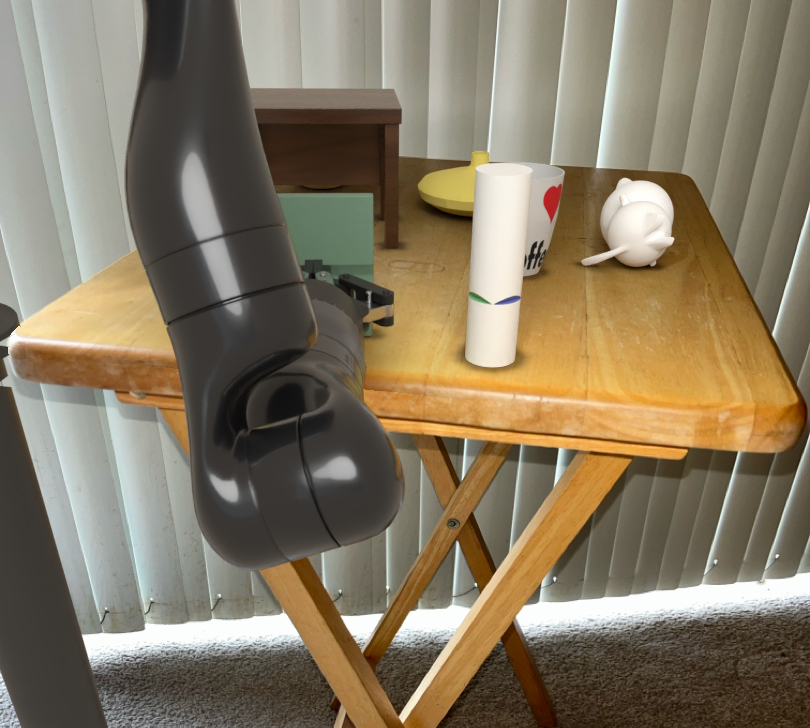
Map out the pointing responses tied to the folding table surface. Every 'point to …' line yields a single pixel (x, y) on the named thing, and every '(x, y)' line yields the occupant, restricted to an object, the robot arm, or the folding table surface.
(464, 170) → the vase
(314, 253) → the chair
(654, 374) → the folding table surface
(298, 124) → the desk
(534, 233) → the cup
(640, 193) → the cat figurine
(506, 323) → the tube
